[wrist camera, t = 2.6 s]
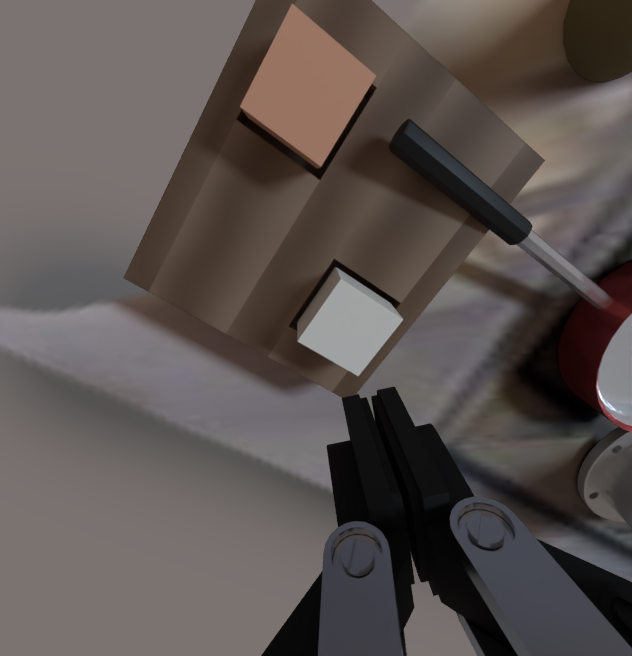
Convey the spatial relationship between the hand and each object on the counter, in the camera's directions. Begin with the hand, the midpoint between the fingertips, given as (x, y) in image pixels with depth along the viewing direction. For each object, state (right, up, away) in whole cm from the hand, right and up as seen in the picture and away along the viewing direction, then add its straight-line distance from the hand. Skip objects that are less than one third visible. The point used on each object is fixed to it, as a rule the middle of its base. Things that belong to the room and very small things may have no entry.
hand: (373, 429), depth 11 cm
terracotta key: (-2, +14, +7) cm, 16 cm away
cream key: (0, +4, +11) cm, 12 cm away
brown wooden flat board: (-1, +11, +12) cm, 16 cm away
